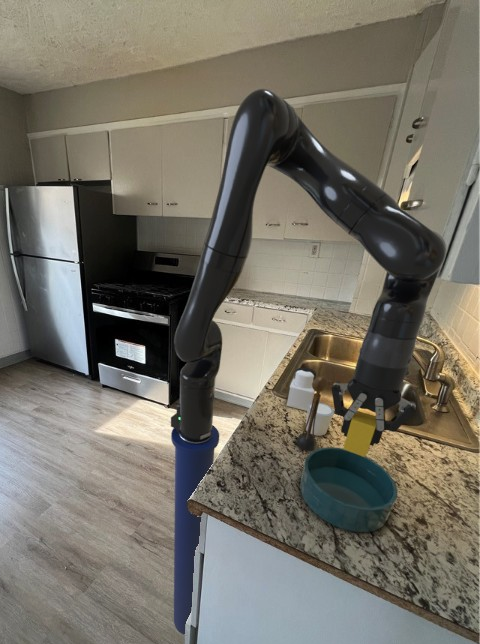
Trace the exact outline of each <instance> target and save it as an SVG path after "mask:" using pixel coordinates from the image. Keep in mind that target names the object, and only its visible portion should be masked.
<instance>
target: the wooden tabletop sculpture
mask: <svg viewBox="0 0 480 644" xmlns="http://www.w3.org/2000/svg"><path fill="white" fill-rule="evenodd" d="M333 385H334V380H332V379H330V380H328V378H326V377H325V376H323V375H318V376H316V378H315V379H314V381H313V382H312V388H313V389H314V390H315V392H314V397H313V401H312V406H311V410H310V414H309V417H308V421H307V423H306V422H305V425H304V429H303V430H302V432H301V433H300V435H298V437H297V439H296V441H295V443H296V446H297V447H298V448H300V449H301V450H304V451H307V452H312V451H314V450H316V447H317V440H316V438H315V435H314V425H315V419H316V414H317V409H318V405H319V403H320V402H321V401H320V400H321V396H322V394H321V392H324V391H325V390H326V389H327V388H328V386H333ZM312 408H313V409H312ZM311 412H312V413H311ZM310 416H311V417H310ZM309 419H310V422H309ZM313 420H314V422H313ZM308 422H309V426H308V430H306V427H307V425H308ZM312 424H313V434H311V433H310V432H311V428H312Z"/></svg>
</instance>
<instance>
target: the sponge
mask: <svg viewBox="0 0 480 644" xmlns="http://www.w3.org/2000/svg"><path fill="white" fill-rule="evenodd" d="M375 428H376V415H373V414H370V413H366V412H363V411H359V410H358V411H357V412H356V413H355V414H354V416H353V417H352V420H351V424H350V427H349V430H348V434H347V437H345V441H344V444H343V447H342V448H343V449H344V450H347V451H350V452H352V453H355V454H358V455H360V456H363V457H367V455H368V452H369V448H370V446H371V445H370V443H371V440H372V437H373V434H374V431H375Z"/></svg>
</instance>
